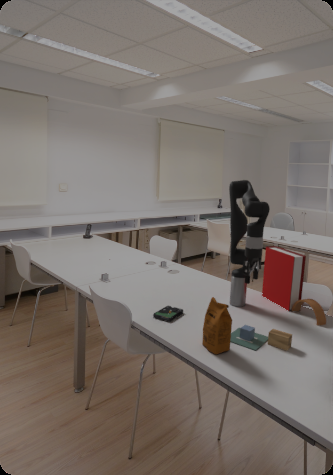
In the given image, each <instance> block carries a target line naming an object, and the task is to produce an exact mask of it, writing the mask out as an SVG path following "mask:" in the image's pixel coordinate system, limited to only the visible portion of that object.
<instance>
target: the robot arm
mask: <svg viewBox="0 0 333 475" xmlns="http://www.w3.org/2000/svg"><path fill="white" fill-rule="evenodd" d="M228 187H229V189H228V190H229V203H230V227H229V228H230V252H229V260H230V263H231V264H233V265H239V266H241V267H240V268H239V267H238V268H236V269H233V270H232V271H231V278H230V290H229V291H230V292H229V304H230V305H231V306H233V307H239V308H240V307H245V306H246V302H247V291H248V290H247V289H248V285H249V284H251V276H252V279H253V280H258V279H259V272H260V270H261V269H262V257H263V250H264V249H263V248H264V228H265V225H266V221H267V219H268V217H269V214H270V205H269V203H268V202H267V201H261V200H260V199H259V198H258V196H257V195H256V194H255V191H254V188H253V186H252V184H251V182H250V181H249V180H248V179H243V180H233V181H231V182H229V186H228ZM239 199H241V203H242V205H243V206H244V212H243V211H242V209H241V208H240V206H239V204H238V202H237V200H239ZM248 218H258V219H257V221H254V222H249V223H248ZM245 235H246V237H245ZM244 237H245V238H246V239H245V248H237V247H238V244H239V243H240V241H241V240H242V239H243V238H244ZM251 274H252V275H251Z"/></svg>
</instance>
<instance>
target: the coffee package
mask: <svg viewBox="0 0 333 475" xmlns="http://www.w3.org/2000/svg"><path fill="white" fill-rule="evenodd" d="M229 308H230V306H229V304H227V303H226V304H225V303H221V302H218V301H217V299H216V298H215V297H214V296H213V297H211V298H210V301H209V304H208V307H207V309H206V312H205V315H204V321H203V326H202V343H201V344H202V346H204V347H205V348H206V349H207V351H208V352H210V353H212V354H214V355H218V354H221V353H223V352H228V351H229V350H230V349H231V342H230V340H231V333H232V327H233V326H232V325H233V319H232V316H231V314H230V312H229V310H228V309H229Z"/></svg>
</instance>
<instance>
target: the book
mask: <svg viewBox="0 0 333 475" xmlns="http://www.w3.org/2000/svg"><path fill="white" fill-rule="evenodd" d="M306 259H307V256H306V255H304V254H301V253H297V252H295V251H292V250H289V249H286V248H283V247H279V246H277V245H269V246H267V245H266V246H265V253H264V265H263V266H264V267H263V277H262V278H263V279H262V290H261V297H262V296H263V297H262V298H264V297H266V298H267V299H266V298H265V299H266V300H268V299H269V300H270V301H269V300H268V301H269V302H271V301H272V302H271V303H273V302H274V303H273V304H275V303H276V304H278V305H280V306H281V307H280V306H279V307H280V308H282V307H283V308H285V309H286V310H285V309H284V310H285V311H287V310H288V311H287V312H289V311H292V307H293V305H294V303H295V302H296V301H298V300H302V297H303V287H304V286H303V285H304V279H305V278H304V276H305V268H306ZM262 293H263V294H262ZM276 304H275V305H276ZM278 305H277V306H278ZM283 308H282V309H283Z"/></svg>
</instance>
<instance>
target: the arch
mask: <svg viewBox="0 0 333 475" xmlns="http://www.w3.org/2000/svg"><path fill="white" fill-rule="evenodd" d="M304 303H305V304H307V305H308V306H310V307H311V309H312V311H313V313H314V315H315V319H316V320H315V322H316V323H315V324H316V326H323V325H327V317H326V314H325V310H324V308H323V307H322V306H321V304H320V303H319V302H318V301H316V300H315V299H313V298H305V299H301V300H298V301H296V302H295V303H294V305H293V307H292V310H291V312H292V311H296V312H300V311H301V309H302V307H303V304H304ZM299 310H300V311H299Z"/></svg>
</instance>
